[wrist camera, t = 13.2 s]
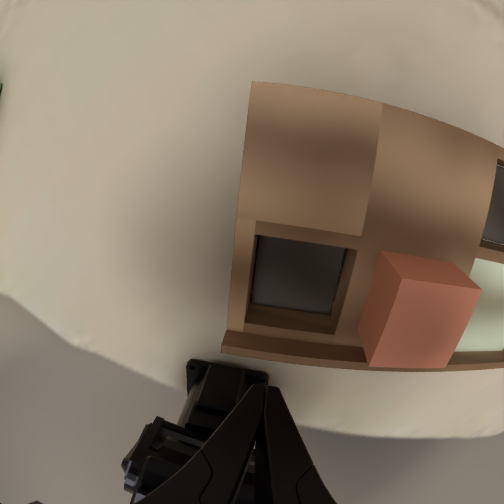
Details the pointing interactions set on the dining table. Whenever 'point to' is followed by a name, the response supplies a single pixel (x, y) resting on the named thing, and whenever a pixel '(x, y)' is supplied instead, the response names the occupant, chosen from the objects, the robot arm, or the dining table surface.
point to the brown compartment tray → (356, 224)
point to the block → (415, 312)
